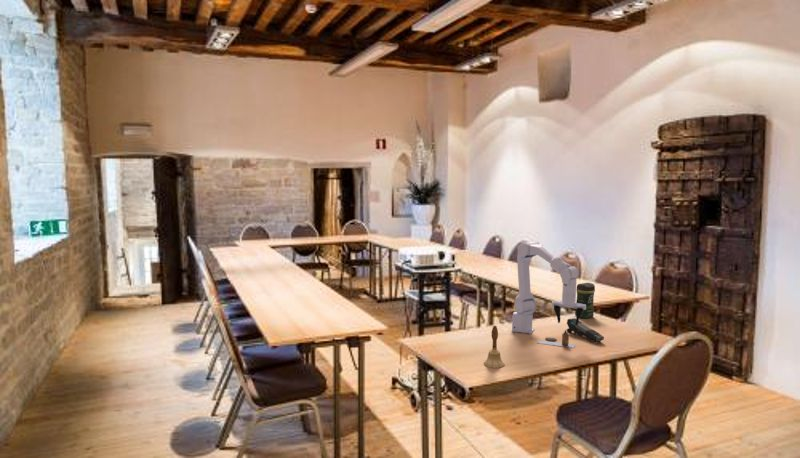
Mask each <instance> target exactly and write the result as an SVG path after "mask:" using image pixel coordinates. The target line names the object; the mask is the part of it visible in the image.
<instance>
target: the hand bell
mask: <svg viewBox="0 0 800 458" xmlns="http://www.w3.org/2000/svg"><path fill="white" fill-rule="evenodd" d="M498 338H499V331H498V327H497V325H493V326H492V329H491V339H492V347H491V348H492V349H490V350H489V351H488V355H487V358H486V359H485V360H484V361H483V365H484V366H485V367H487V368H492V369H501V368H504V367H505V362H504V361H503V360H502V357H501V351H499V350H498V349H497V341H498Z"/></svg>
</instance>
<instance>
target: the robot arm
mask: <svg viewBox="0 0 800 458" xmlns="http://www.w3.org/2000/svg"><path fill="white" fill-rule="evenodd" d="M536 256H538V257H540V258H542V260H544V261H546V262H547V263H549V264H550V265H549V266H550V268H551V269H553V270H554V271H555V272H556V273H558V274H559V275H560V278H561V283H562V291H561V292H562V296H561V301H555V300H554V301H553V300H552V301H551V307H553V311H554V312H555V315H556V320H557V323H558V324H560V323H561V308H569V309H575V310H576V309H577V310H576V316H575V319H576V325H578V321H580V319H581V318H580V315H581V313H582V311H583V310H586V305H585V304H579V303H576V302H577V280H578V279H579V277H580V270H579V269H578V267H577V266H576V265H575V266H574V265H573V266H572V265H571V264H570V263H567V262H566V261H565V260H563V258H562V257H559V256H557V257H555V256H554V255H553V254H552V253H550V252H549V251H548V250H547V249H546V248H545V247H544V246H543V244H541V243H540V242H539V241H536V240H535V241H531V242H530V241H528V242H522V243H520V244H519V245H518V246H517V257H516V262H517V263H516V264H517V276H518V277H517V279H518V281H517V282H518V294H517V295H516V296H515V298H514V299H515V301H514V305H513V307H514V308H513V309H514V310H515V311H513V313H512V317H511V318H512V319H511V331H512V332H514V333H516V332H517V333H524V334H532V333H533V332H534V331H535V328H533V319H534V318H533V317H534V316H533V314H534V311H535V310H536V309H537V303H536V299H535V296H534V295H533V293H531V291H532V290H531V277H530V276H531V275H530V261H531V259H533V258H534V257H536Z"/></svg>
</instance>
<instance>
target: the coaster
mask: <svg viewBox="0 0 800 458" xmlns="http://www.w3.org/2000/svg"><path fill="white" fill-rule="evenodd" d="M545 341H547V342H557V341H558V339H557V338H555V337H546V338H545Z"/></svg>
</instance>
